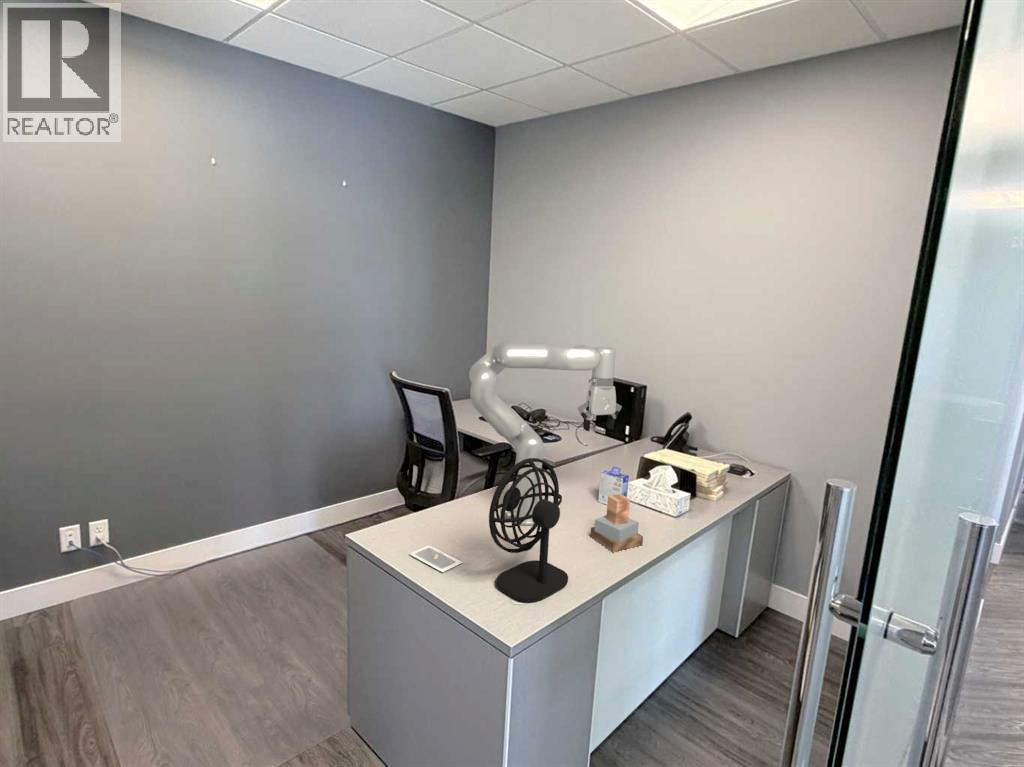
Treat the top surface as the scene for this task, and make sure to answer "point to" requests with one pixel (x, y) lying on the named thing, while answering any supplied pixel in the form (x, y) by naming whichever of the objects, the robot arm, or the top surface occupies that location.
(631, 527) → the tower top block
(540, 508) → the desk fan
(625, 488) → the ink cartridge box
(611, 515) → the terracotta block
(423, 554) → the touchpad
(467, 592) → the top surface
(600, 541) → the tower base block
